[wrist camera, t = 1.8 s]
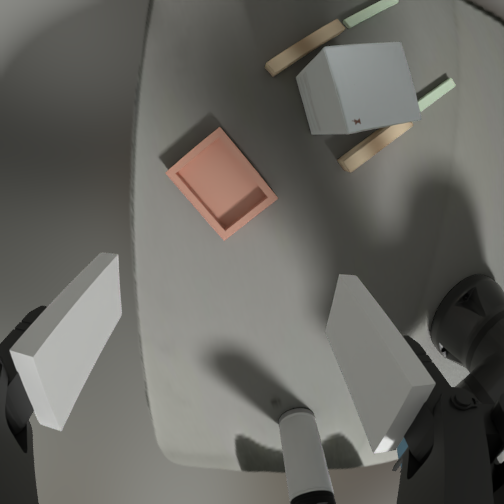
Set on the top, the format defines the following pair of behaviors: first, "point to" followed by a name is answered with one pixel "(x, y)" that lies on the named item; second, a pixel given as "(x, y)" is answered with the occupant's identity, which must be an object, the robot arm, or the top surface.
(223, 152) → the pit tray
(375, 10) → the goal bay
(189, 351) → the top surface
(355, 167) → the channel
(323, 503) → the travel mug
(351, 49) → the supplement box
